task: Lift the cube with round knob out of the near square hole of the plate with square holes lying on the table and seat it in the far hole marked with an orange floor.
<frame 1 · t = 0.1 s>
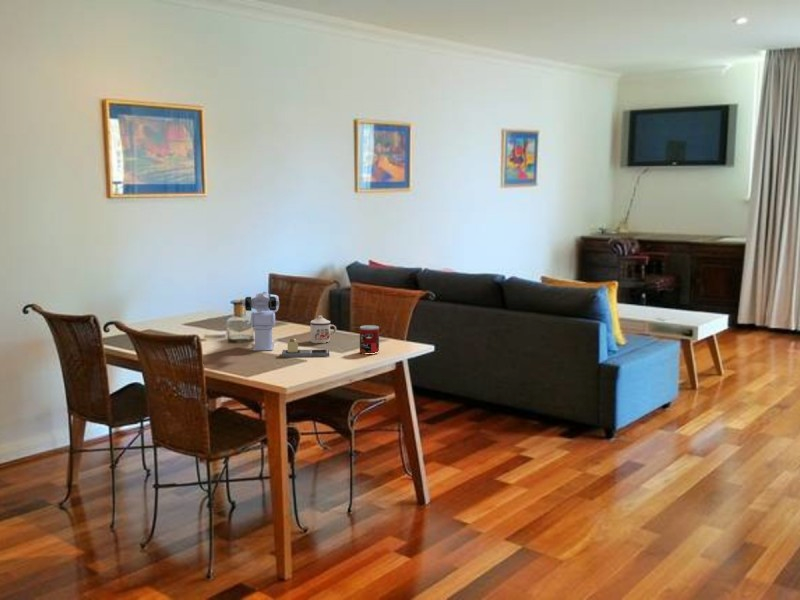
hand: (259, 305, 309), 22 cm above the table, tool horizontal, fingers open, 7 cm apart
cube with round knob: (292, 355, 319), resting in plate with square holes
plate with square holes: (305, 355, 319), on the table
canned food: (369, 353, 325), on the table
teacup with lid: (323, 342, 348), on the table
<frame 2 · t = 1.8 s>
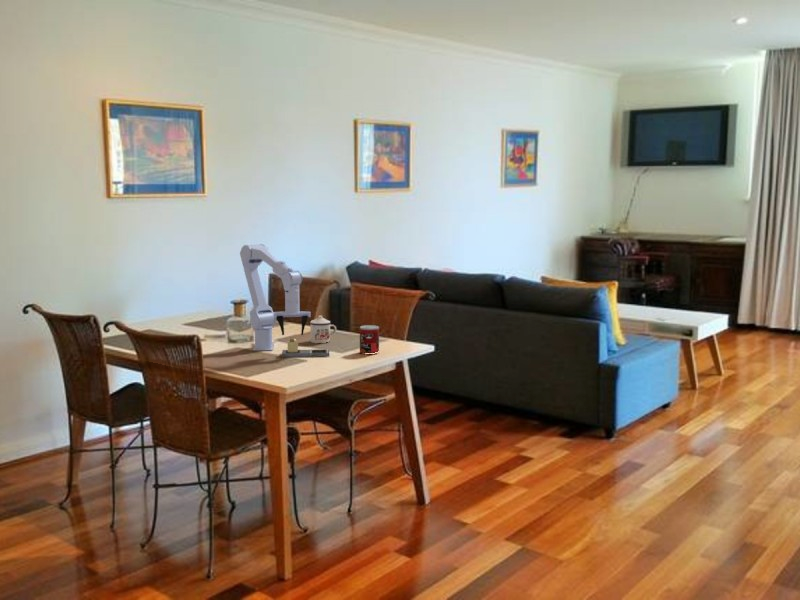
hand: (292, 334, 318), 9 cm above the table, tool pointing down, fingers open, 7 cm apart
nothing on the table moved.
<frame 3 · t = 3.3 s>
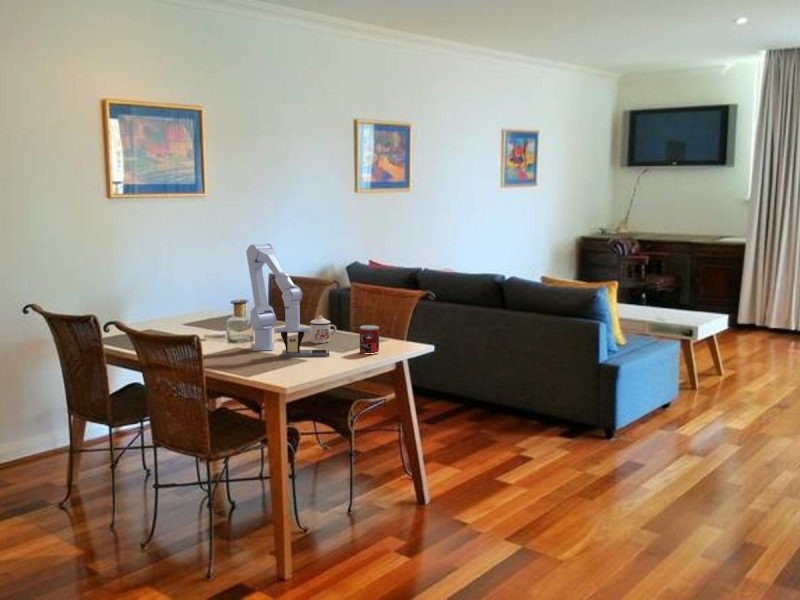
hand: (292, 350, 319), 2 cm above the table, tool pointing down, fingers closed on cube with round knob, 4 cm apart
cube with round knob: (292, 355, 319), resting in plate with square holes, touching gripper
everything else where it was.
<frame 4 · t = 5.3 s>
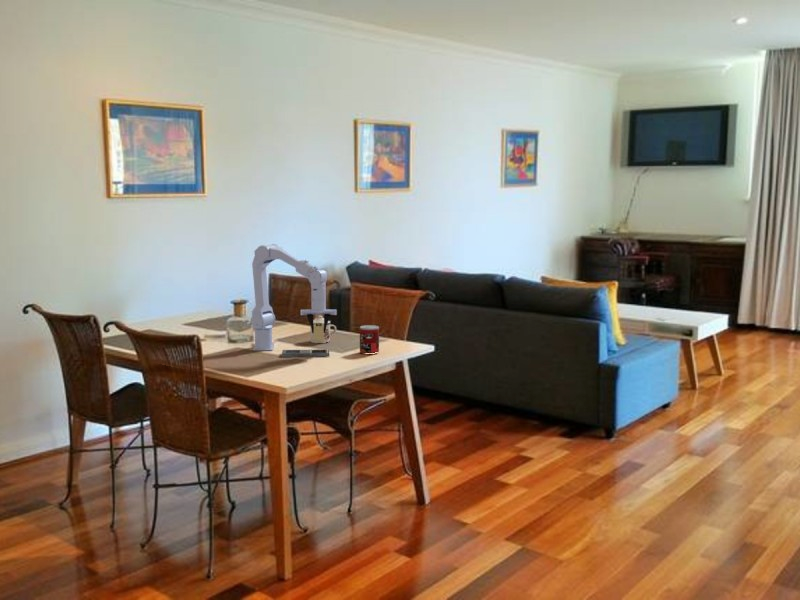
hand: (318, 332, 319), 9 cm above the table, tool pointing down, fingers closed on cube with round knob, 4 cm apart
cube with round knob: (318, 339, 319), point 6 cm above the table, touching gripper
everything else where it was.
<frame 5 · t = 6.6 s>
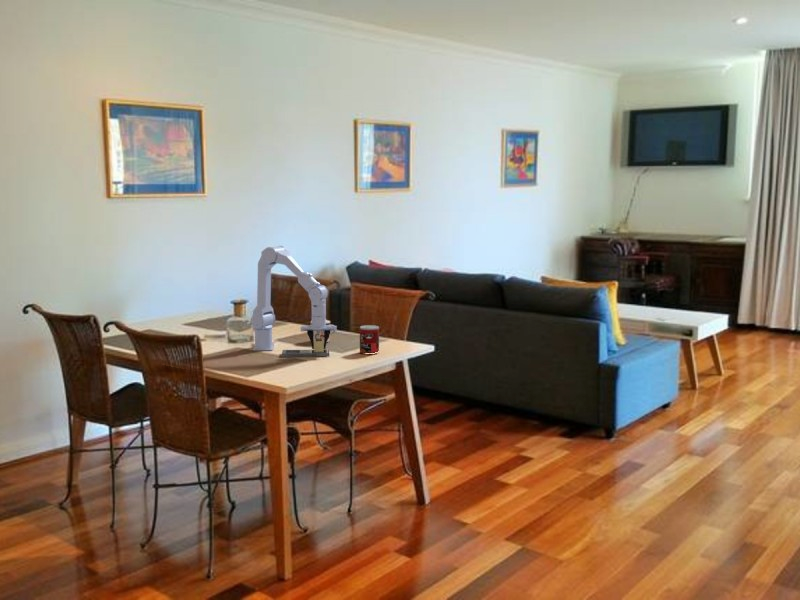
hand: (318, 348, 320), 3 cm above the table, tool pointing down, fingers closed on cube with round knob, 4 cm apart
cube with round knob: (318, 354, 320), resting on plate with square holes, touching gripper
everything else where it was.
when the fingers open (3 cm above the table, at t = 7.3 s): cube with round knob stays where it is, resting on plate with square holes.
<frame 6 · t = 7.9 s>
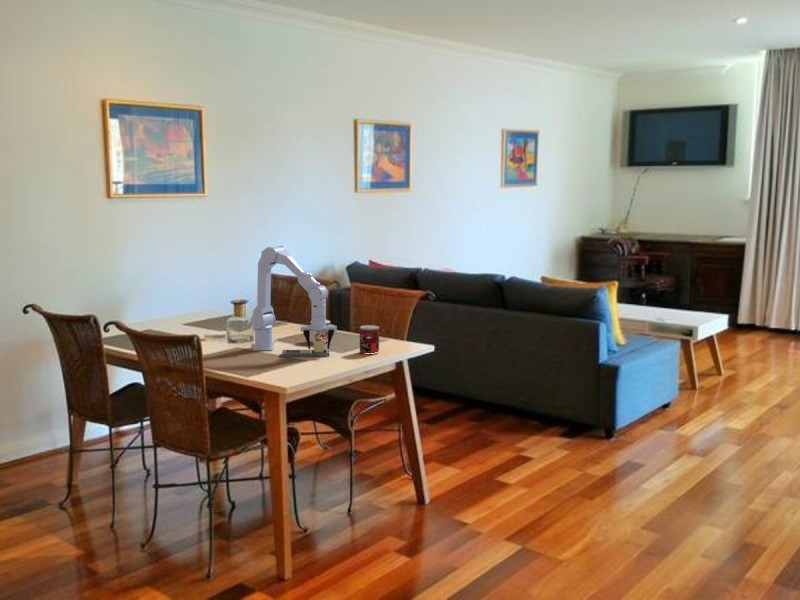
hand: (318, 348, 320), 3 cm above the table, tool pointing down, fingers open, 7 cm apart
cube with round knob: (318, 354, 320), resting on plate with square holes
everything else where it was.
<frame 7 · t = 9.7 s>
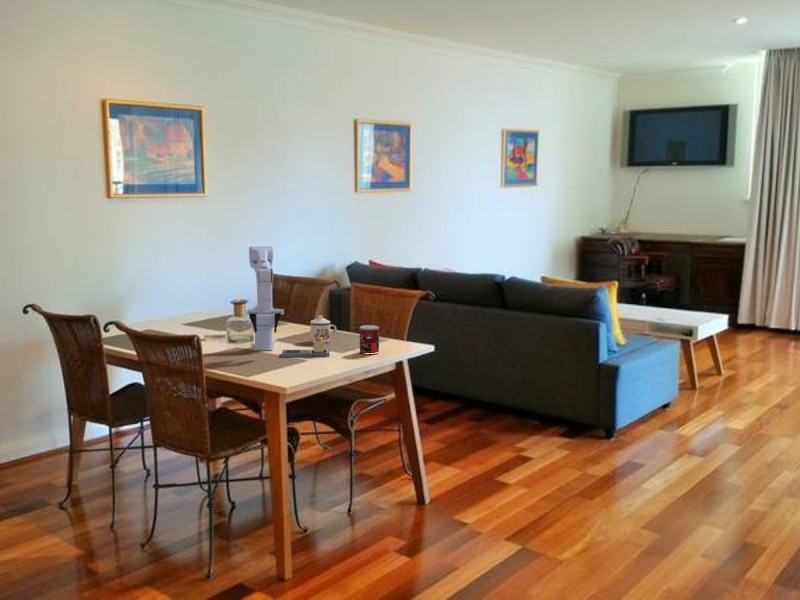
hand: (265, 332, 315), 10 cm above the table, tool pointing down, fingers open, 7 cm apart
nothing on the table moved.
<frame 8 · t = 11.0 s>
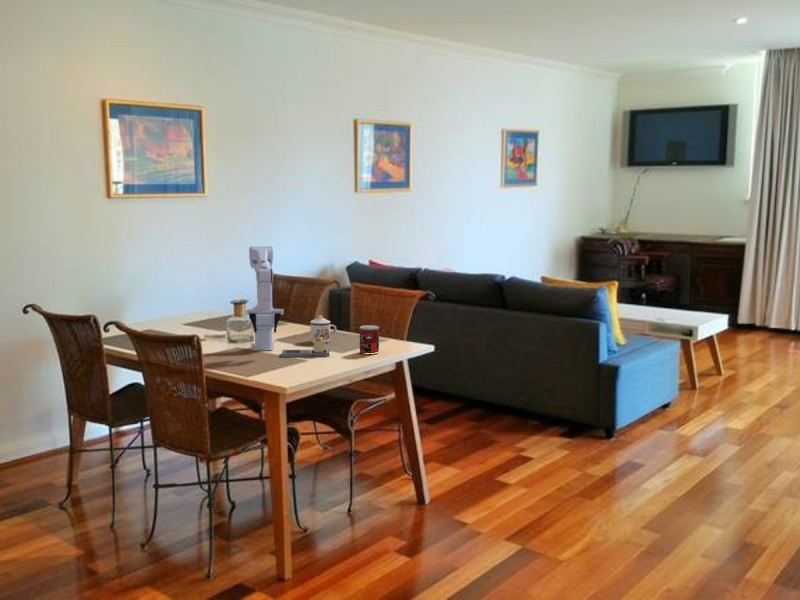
hand: (265, 332, 315), 10 cm above the table, tool pointing down, fingers open, 7 cm apart
nothing on the table moved.
at the end: cube with round knob 0.2 cm from the target spot on the plate with square holes, point 0.1 cm above the plate with square holes's base; cube with round knob tilted 0°; the gripper is holding nothing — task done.
